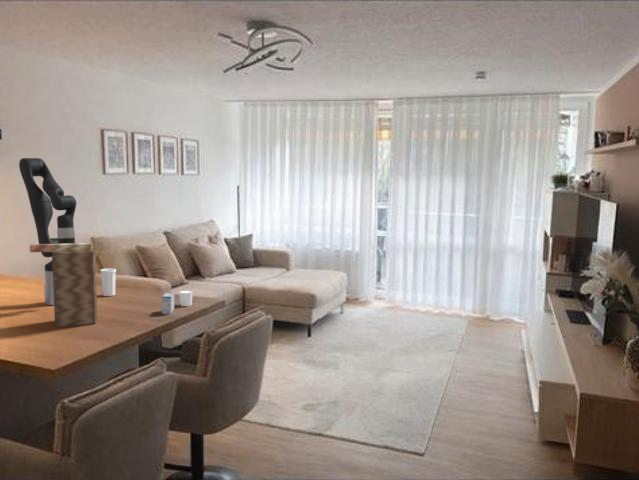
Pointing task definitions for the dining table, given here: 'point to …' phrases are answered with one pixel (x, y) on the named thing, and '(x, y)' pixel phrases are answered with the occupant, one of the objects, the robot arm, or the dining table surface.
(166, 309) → the medicine box
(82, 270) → the walnut pillar
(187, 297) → the white tub
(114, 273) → the cup
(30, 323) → the dining table surface
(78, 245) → the wooden block
